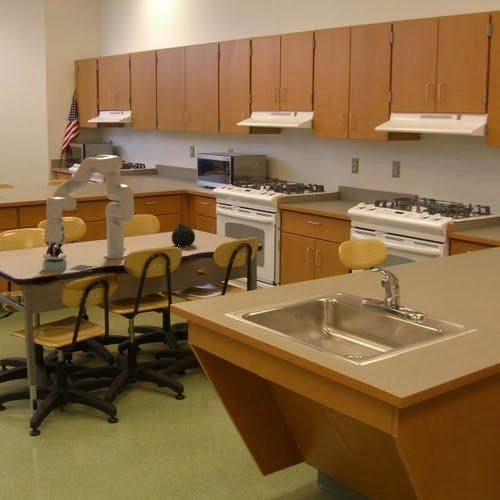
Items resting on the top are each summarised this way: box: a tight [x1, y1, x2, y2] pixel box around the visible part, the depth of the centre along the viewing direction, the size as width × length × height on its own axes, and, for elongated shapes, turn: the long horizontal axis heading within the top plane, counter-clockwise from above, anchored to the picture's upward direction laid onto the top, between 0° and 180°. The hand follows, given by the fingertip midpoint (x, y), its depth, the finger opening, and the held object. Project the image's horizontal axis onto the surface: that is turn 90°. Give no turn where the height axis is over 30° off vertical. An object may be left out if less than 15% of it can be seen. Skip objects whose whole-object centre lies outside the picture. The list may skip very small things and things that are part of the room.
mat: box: [68, 264, 97, 273], centre depth 389 cm, size 12×12×1 cm
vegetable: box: [45, 242, 66, 260], centre depth 399 cm, size 10×10×15 cm
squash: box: [171, 223, 196, 247], centre depth 459 cm, size 14×15×15 cm
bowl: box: [42, 258, 67, 273], centre depth 385 cm, size 11×11×5 cm
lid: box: [42, 246, 67, 260], centre depth 384 cm, size 12×12×6 cm
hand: (54, 254), depth 384 cm, fingers closed on lid, 2 cm apart
